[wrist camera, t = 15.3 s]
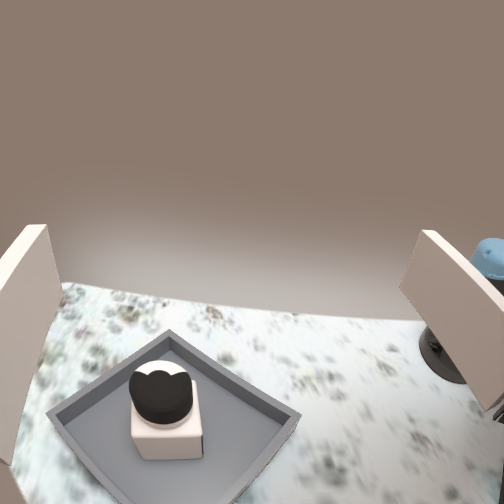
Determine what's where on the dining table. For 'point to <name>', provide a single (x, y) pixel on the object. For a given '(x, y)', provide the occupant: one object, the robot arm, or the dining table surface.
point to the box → (212, 421)
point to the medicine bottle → (165, 412)
